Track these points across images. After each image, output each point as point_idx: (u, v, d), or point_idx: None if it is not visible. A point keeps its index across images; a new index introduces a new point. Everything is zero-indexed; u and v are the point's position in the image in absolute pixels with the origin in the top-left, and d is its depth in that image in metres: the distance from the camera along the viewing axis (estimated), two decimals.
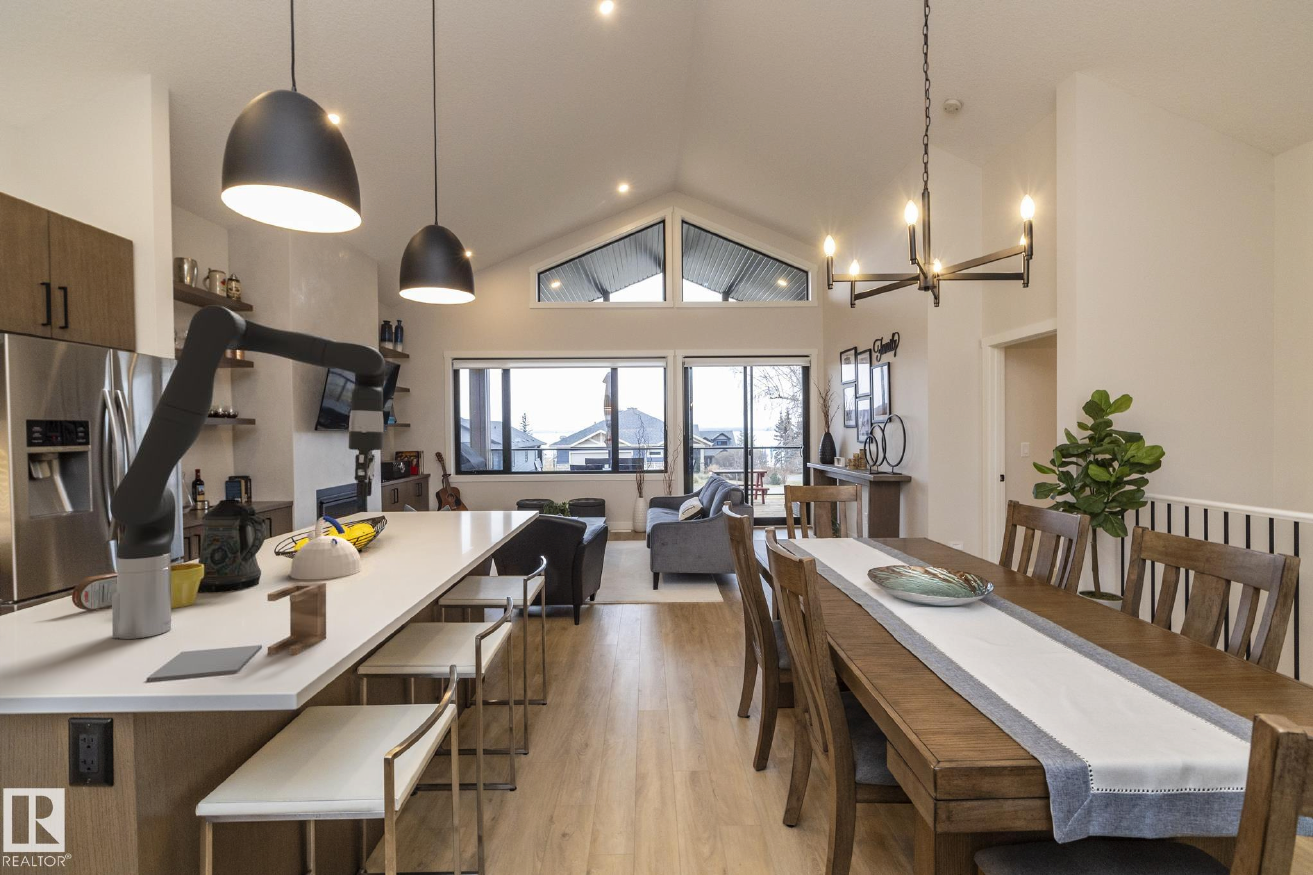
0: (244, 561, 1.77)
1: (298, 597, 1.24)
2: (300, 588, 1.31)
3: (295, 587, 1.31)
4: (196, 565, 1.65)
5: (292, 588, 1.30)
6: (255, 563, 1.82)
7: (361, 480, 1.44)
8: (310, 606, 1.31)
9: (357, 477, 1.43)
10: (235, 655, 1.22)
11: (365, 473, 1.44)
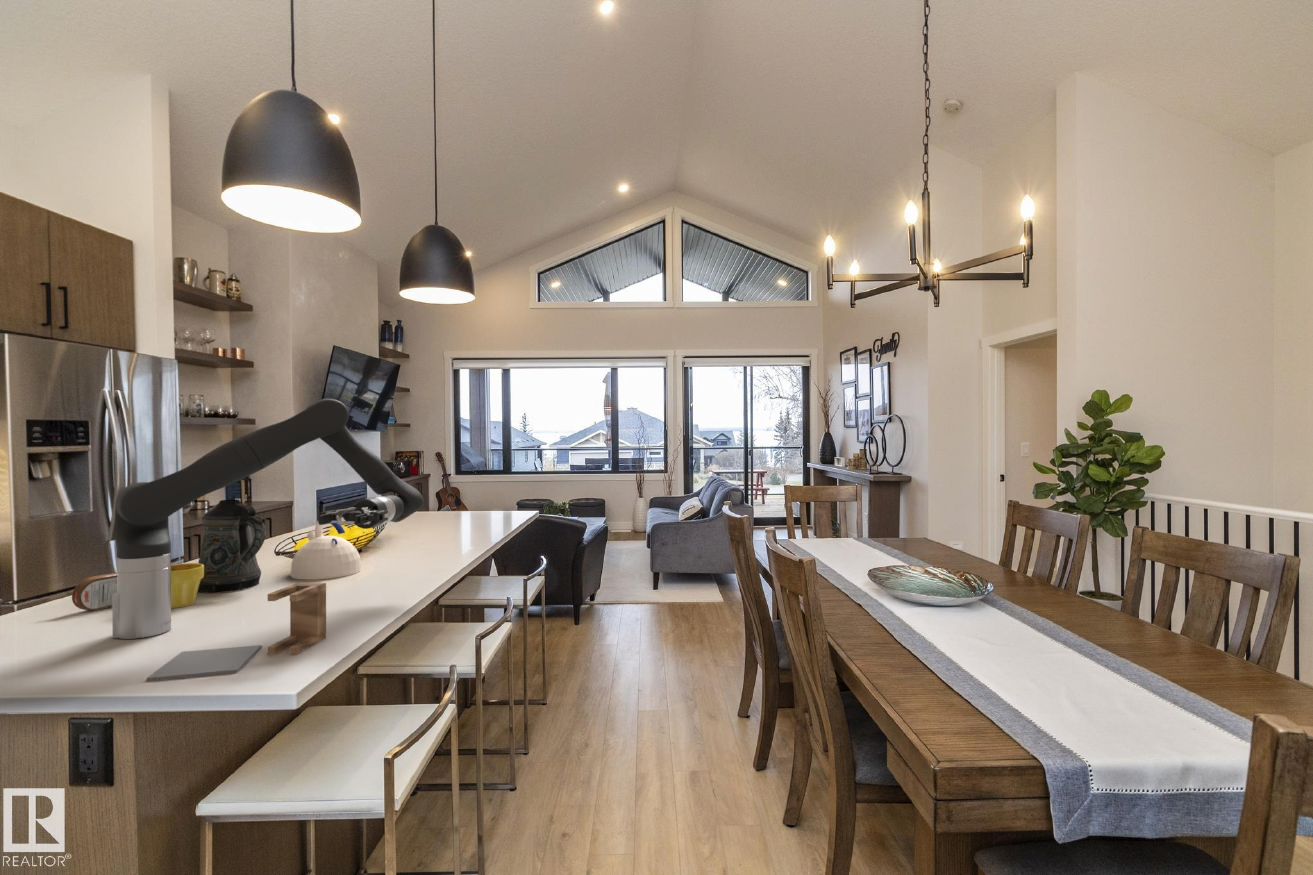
0: (244, 561, 1.77)
1: (298, 597, 1.24)
2: (300, 588, 1.31)
3: (295, 587, 1.31)
4: (196, 565, 1.65)
5: (292, 588, 1.30)
6: (255, 563, 1.82)
7: (374, 518, 1.47)
8: (310, 606, 1.31)
9: (378, 514, 1.48)
10: (235, 655, 1.22)
11: (380, 521, 1.49)
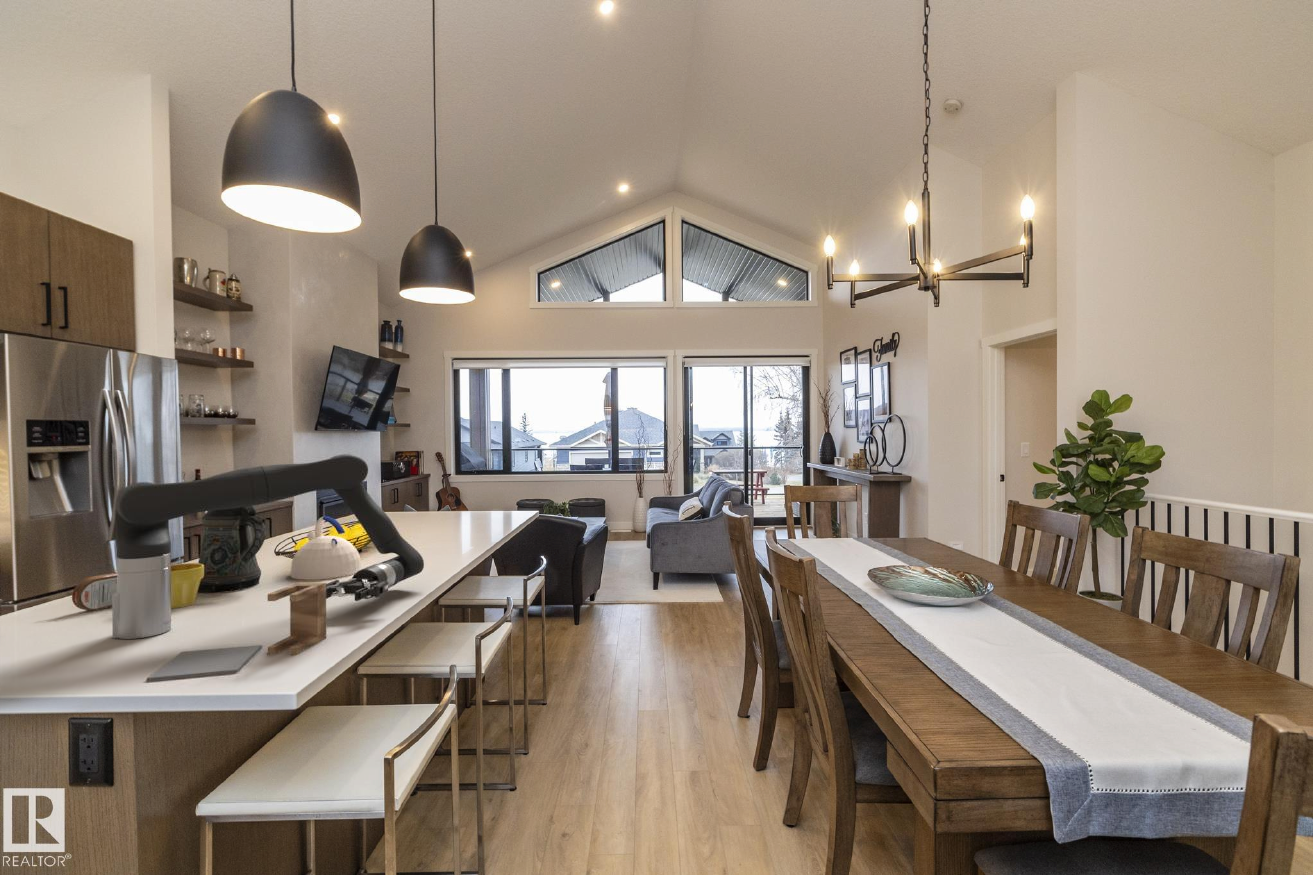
0: (244, 561, 1.77)
1: (298, 597, 1.24)
2: (300, 588, 1.31)
3: (295, 587, 1.31)
4: (196, 565, 1.65)
5: (292, 588, 1.30)
6: (255, 563, 1.82)
7: (374, 592, 1.47)
8: (310, 606, 1.31)
9: (379, 588, 1.48)
10: (235, 655, 1.22)
11: (381, 594, 1.49)
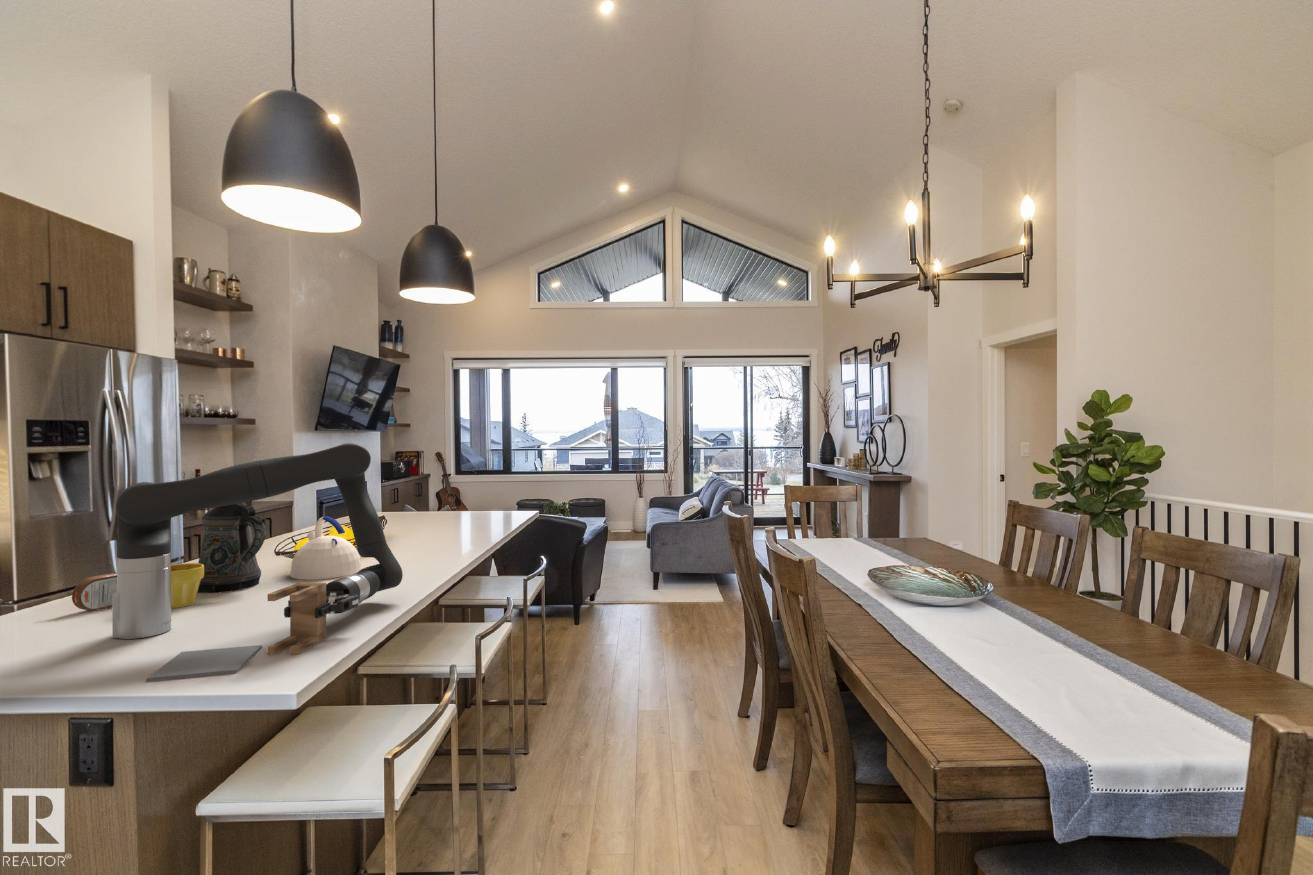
0: (244, 561, 1.77)
1: (298, 597, 1.24)
2: (300, 588, 1.31)
3: (295, 587, 1.31)
4: (196, 565, 1.65)
5: (292, 588, 1.30)
6: (255, 563, 1.82)
7: (338, 608, 1.34)
8: (310, 606, 1.31)
9: (342, 603, 1.35)
10: (235, 655, 1.22)
11: (346, 610, 1.35)
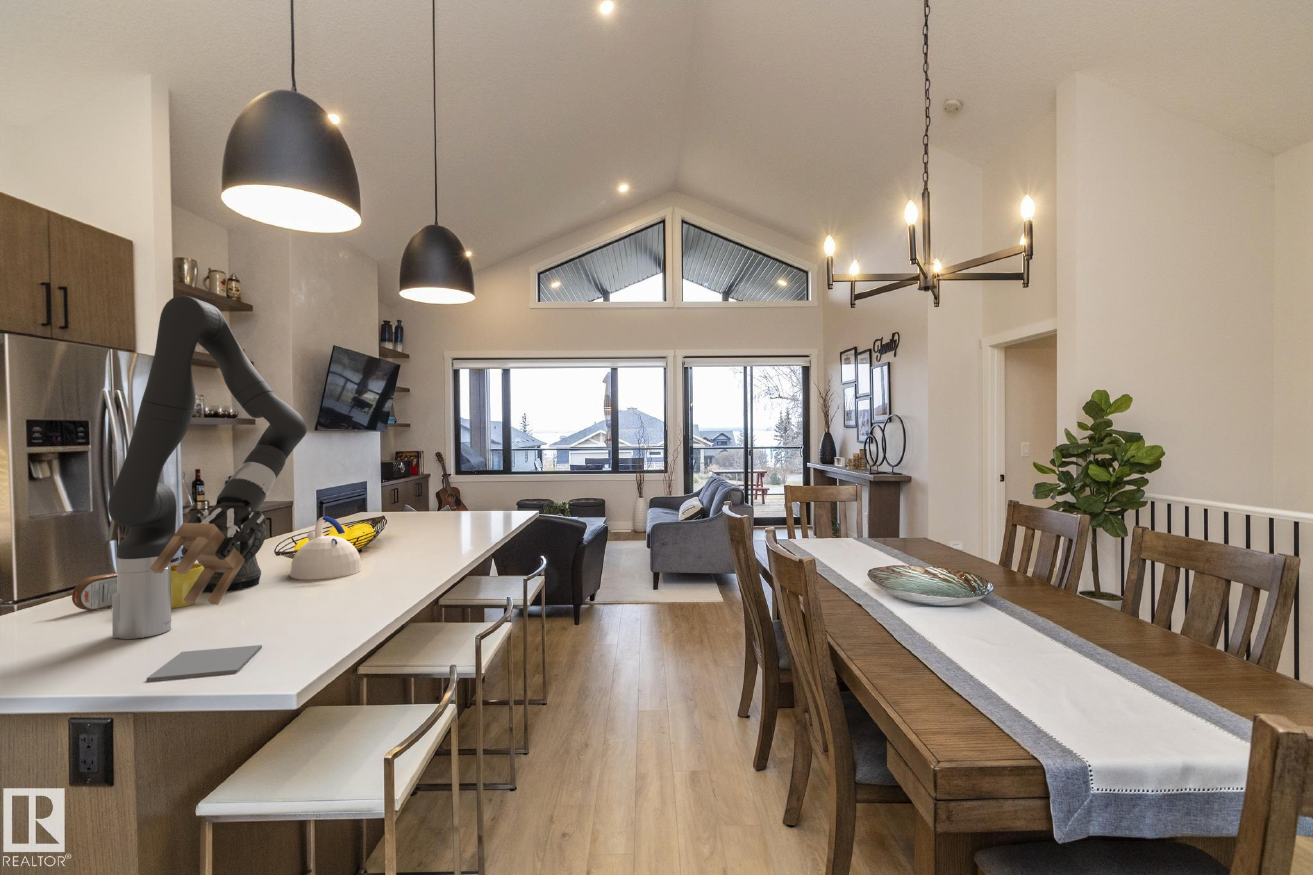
0: (244, 561, 1.77)
1: (186, 568, 1.10)
2: (187, 538, 1.15)
3: (180, 538, 1.14)
4: (196, 565, 1.65)
5: (177, 543, 1.14)
6: (255, 563, 1.82)
7: (242, 538, 1.20)
8: (209, 550, 1.17)
9: (245, 534, 1.20)
10: (235, 655, 1.22)
11: (252, 535, 1.22)
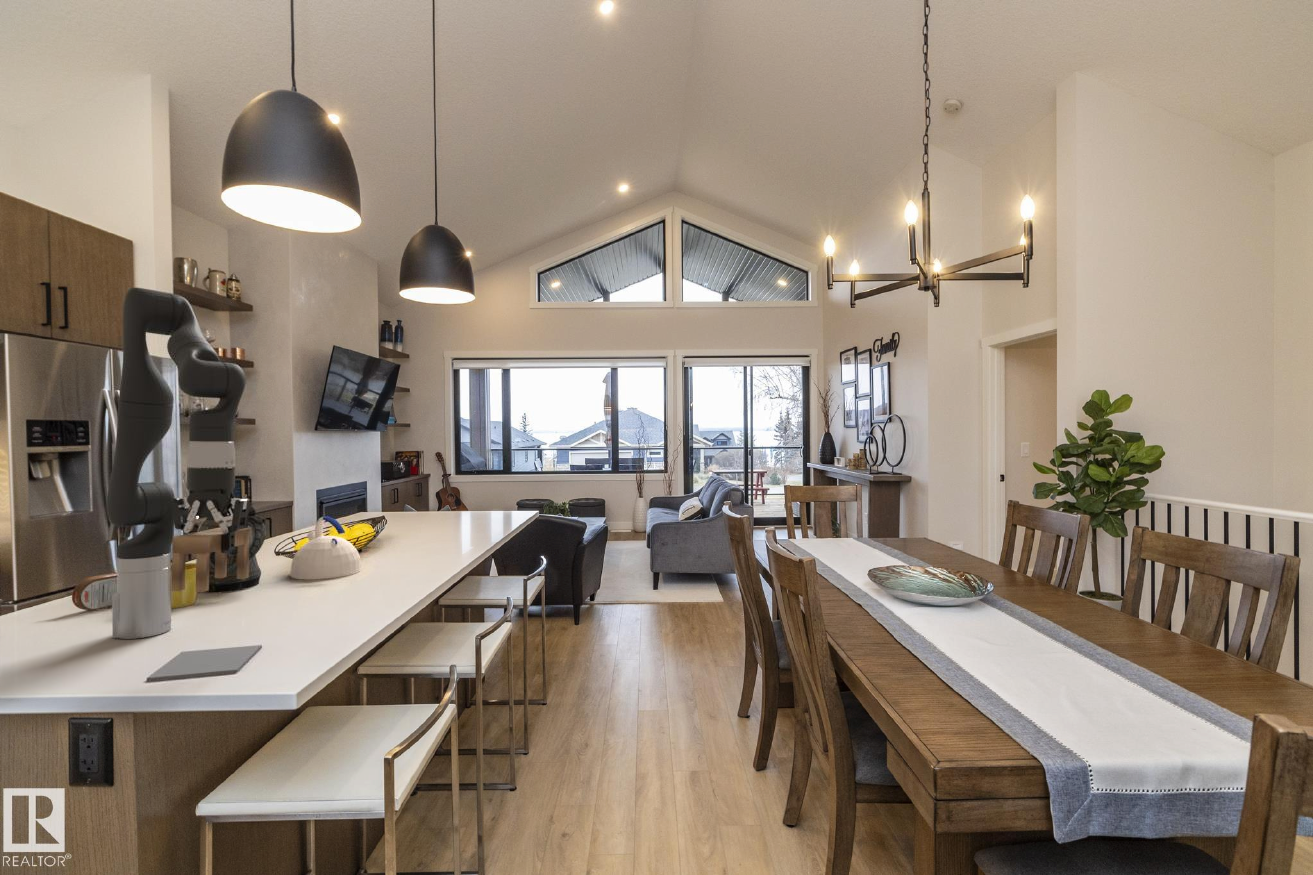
0: None
1: (206, 587, 1.15)
2: None
3: (180, 555, 1.14)
4: None
5: (180, 560, 1.14)
6: (255, 563, 1.82)
7: None
8: None
9: (238, 527, 1.19)
10: (235, 655, 1.22)
11: (246, 521, 1.20)
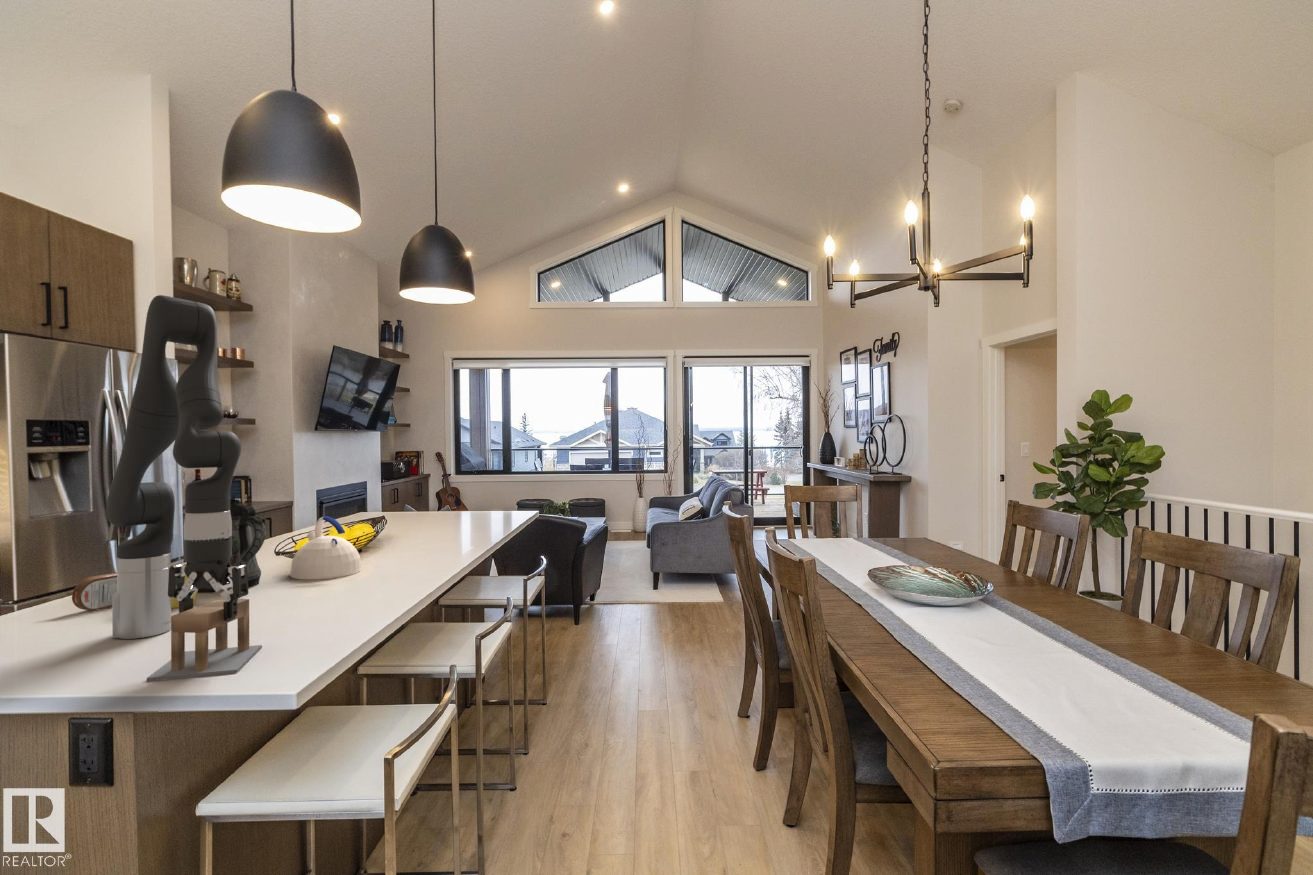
0: (244, 561, 1.77)
1: (205, 666, 1.14)
2: None
3: (179, 633, 1.14)
4: None
5: (179, 639, 1.14)
6: (255, 563, 1.82)
7: None
8: None
9: (241, 594, 1.18)
10: (235, 655, 1.22)
11: (247, 587, 1.20)
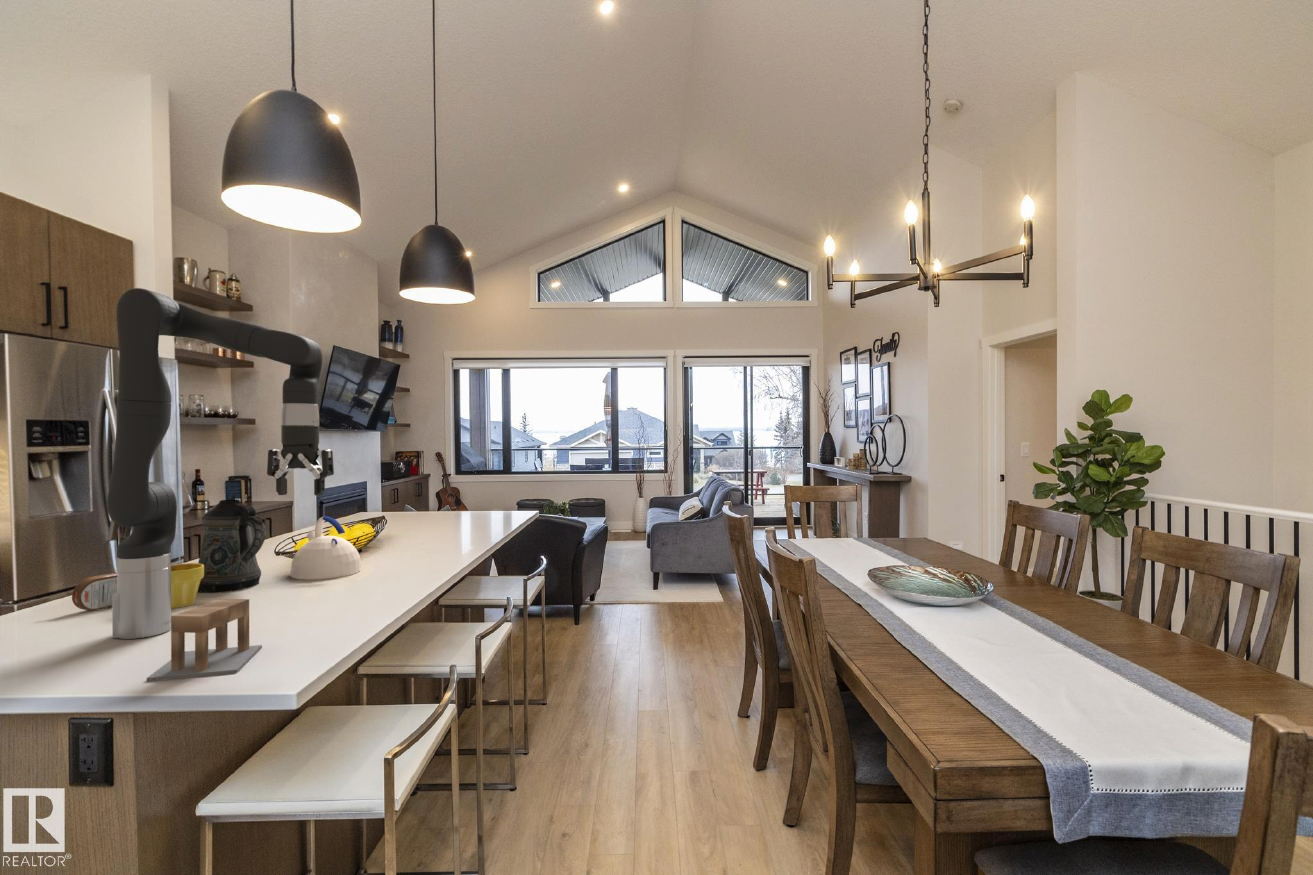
0: (244, 561, 1.77)
1: (205, 666, 1.14)
2: None
3: (179, 633, 1.14)
4: (196, 565, 1.65)
5: (179, 639, 1.14)
6: (255, 563, 1.82)
7: (327, 476, 1.41)
8: None
9: (328, 473, 1.41)
10: (235, 655, 1.22)
11: (333, 468, 1.42)
